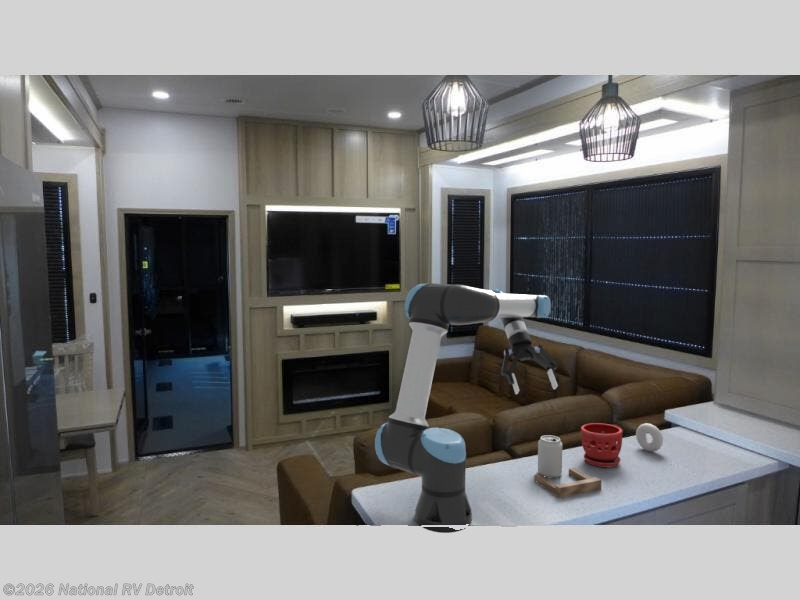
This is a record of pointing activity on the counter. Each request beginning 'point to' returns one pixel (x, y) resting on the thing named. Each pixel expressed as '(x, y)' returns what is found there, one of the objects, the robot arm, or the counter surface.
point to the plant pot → (601, 444)
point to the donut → (653, 432)
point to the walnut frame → (570, 484)
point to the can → (550, 456)
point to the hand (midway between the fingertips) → (536, 390)
